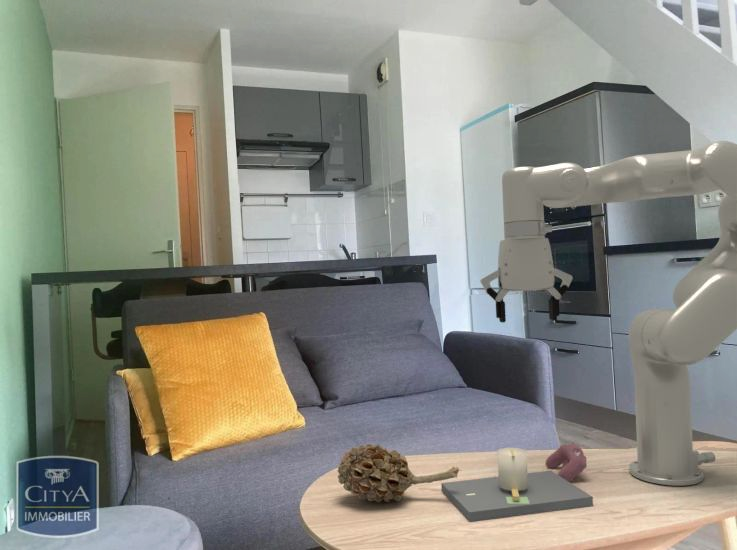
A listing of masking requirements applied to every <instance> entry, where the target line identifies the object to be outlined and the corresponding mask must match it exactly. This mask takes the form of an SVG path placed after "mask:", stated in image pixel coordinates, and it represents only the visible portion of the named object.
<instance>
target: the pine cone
mask: <svg viewBox="0 0 737 550" xmlns="http://www.w3.org/2000/svg"><path fill="white" fill-rule="evenodd" d="M340 461H341V462H339V464H338V467H337V469H338V470H337V472H338V475H337V478H338V483H339V484H341V485H343V486H342V487H343V489H344V490H345V491H347V492H350V494H352V495H357V498H359V499H360V500H364V499H367V500H368V501H369V502H371V501H374V500H375V502H377V503H380V502H381V501H382V500H384V501H385V502H387V503H388V502H390V501H391V500H393V501H396V502H400V501H401V499H402V496H403V495H404V494H405V492H406V490H408V489H409V488H410V487H412V486H413V485H415V486H416V485H418V484H425V483H426V484H429V483H433V482H439V481H440V482H441V481H445V480H449V479H454V478H456V479H457V478H458V474H459V471H461V472H462V469H459V467H454V466H453V467H451V469H448V470H447V471H443V472H438V473H434V474H428V475H418V476H417V475H415V474H413V472H411V470H410V468H409V463H408V461H407V457H406V456H405V455H401V453H399V452H398V451H397V450H396V449H393V450H391V451H389V449H388V448H387V447H384V448H383V447H382V446H381V445H380V444H379V443H377V444H375V445H372V444H367V445H366V446H364V445H358V446H357V447H356V446H352V447H351V448H350V449H349V451H345V452H344V455H343V456H341V458H340Z"/></svg>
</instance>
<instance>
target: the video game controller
mask: <svg viewBox="0 0 737 550" xmlns="http://www.w3.org/2000/svg"><path fill="white" fill-rule="evenodd" d="M587 465H588V464H587V457H586V456H585V454H584V451H583V449H582V448H581V447H580V446H578V445H576V444H575V443H567V442H564V443H563V444H561V445H559V447H558V448H557V449H556V450H555V451H554V452H553V453H551V454H550V455H549V456H548V457H547V458H546V459H545V467H547V468H548V469H554V468H557V467H559V466H561V469H560V470H559V471H558V473H557V475H559V476H560V477H562V478H564V479H565V480H567V481H568V482H570V481H572V480H574V479H575V478H577V476H579V474H580V473H582V472H583V471H584V470H585V469H586V468H587Z"/></svg>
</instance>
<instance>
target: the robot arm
mask: <svg viewBox="0 0 737 550" xmlns="http://www.w3.org/2000/svg"><path fill="white" fill-rule="evenodd" d="M501 185H502V186H501V187H502V191H501V192H502V207H503V209H502V210H503V211H502V212H503V214H502V215H503V236H504V239H502V240H500V241H499V248H498V255H497V257H498V258H497V259H498V260H497V270H495V271H493V272H492V273H490V274H488V275H486V276H484V277H482V278H481V279H480V284H481V285H482V287H483V289H484V290H485V292H486V294H487V295H488V296H489V297H491V298H492V299H493V301H494V302H495V317H496V319H499V322H500V323H505V322H506V319H507V318H506V317H507V316H506V303H505V301H504V298H505V297H506V295H507V294H508V292H525V291H529V292H530V291H545V292H546V293H547V294H548V295H549V299H548V315H549V316H548V318H549V320H551V321H553V322H555V321H556V322H557V321H558V317H559V316H560V300H561V298H562V296H563V295H565V293H566V292H567V291H568V289H569V287H570V285H571V283H572V281H573V279H574V278H573V276H572V275H571V274H569V273H568V272H567V273H566V272H565V271H562V270H561V269H558V268H556V267H554V260H553V255H552V249H551V248H552V247H551V244H550V239H549V238H548V237H546V236H547V235H546V234H547V233H552V232H553V225H552V224H547V223H546V221H545V214H544V213H545V212H544V206H545V207H548V208H550V209H551V208H552V209H559V208H561V209H562V208H573V207H583V206H594V205H599V204H600V205H601V204H611V203H613V204H614V203H628V202H634V201H642V200H643V201H645V200H653V199H661V198H674V197H676V198H677V197H684V196H685V197H686V196H695V195H696V196H697V195H704V194H708V193H712V192H716V191H719V190H721V192H722V193H724V194H725V196H724V197H723V198H722V200H721V201H720V204H719V206H718V212H717V216H718V220H719V221H718V222H719V227H720V235H719V239H718V242H717V243H716V245H715V246H714V247H713V248H711V250H710V251H709V253H707V254H706V256H704V258H702V259H701V260H700V261H699V262H698V263H697V264H696V265H695V266H694V267H693V268H692V269H691V270H690V271H689V272H687V273H686V275H685V276H683V277H682V278H681V279H680V280H679V282H678V283H677V284H676V286H675V287H674V290H673V293H672V294H673V295H672V299H673V303H674V306H675V307H676V309H674V310H673V309H665V308H651V309H646V310H644V311H642V312H640V313H638V314H637V315H636V316H635V317H634V318H633V319H632V321H631V323H630V325H629V328H628V345H629V351H630V356H631V360H632V362H631V363H632V367H633V368H632V369H633V378H634V401H635V402H634V403H635V404H634V406H635V407H634V408H635V429H636V431H635V432H636V452H637V456H636V457H637V460H634V461H632V462H631V463H629V465H628V466H629V467H628V470H629V473H630V474H631V475H632V476H634V477H635V478H637V479H639V480H641V481H645V482H648V483H650V484H651V483H652V484H658V485H663V486H664V485H665V486H673V487H675V486H676V487H677V486H678V487H679V486H683V487H685V486H693V485H696V484H699V483H701V482H702V481H703V480H704V472H703V470H702V469H701V468H699V467H700V466H701V465H702V464H703V463H704V464H708V463H715V462H716V458H717V457H716V455H715V453H714V452H712V451H707V452H701V453H699V450H694V448H693V446H694V445H693V426H692V425H693V420H692V401H691V400H692V399H691V398H692V397H691V379H690V374H689V373H690V372H689V370H688V366H692V365H696V364H697V363H700V362H701V361H703V360H705V359H706V358H707V357H709V356H710V355H711V354H712V353H713V352H714V351H715V350H716V349H717V348H719V347H720V346H721V344H723V343H724V342H725V341H726V340H727V339H728V338H729V337H730V336H731V335H732V334H733V333H734V332H736V331H737V143H734V142H731V141H727V140H719V141H714V142H711V143H709V144H707V145H704V146H702V147H700V148H696V149H692V150H691V149H689V150H680V151H677V150H676V151H671V152H658V153H646V154H637V155H633V156H628V157H625V158H621V159H618V160H616V161H613V162H610V163H606V164H603V165H599V166H593V167H590V168H589V167H588V168H584V167H582V166H581V165H580V164H577V163H575V162H560V163H555V164H549V165H544V166H529V165H528V166H516V167H512V168H508V169H506V170H505V171H504V172H503V173H502V178H501ZM555 277H557V278H559V279H561V280H562V282H561V283H560V285H559V287H557V289H556V287H554V286H555V281H556V279H555ZM496 279H497V284H498V285H497V286H498V288H499V289H498V291H495V289H493V288H492V286H491V282H492V281H494V280H496Z"/></svg>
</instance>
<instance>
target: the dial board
mask: <svg viewBox="0 0 737 550" xmlns="http://www.w3.org/2000/svg"><path fill="white" fill-rule="evenodd" d="M440 485H441V493H442V494H444V496H446V498H447V499H448V500H449V501H450V502H451V504H452V505H454V506H455V508H456V509H457V510H458V512H459V513H461V514H462V515H463V516H464V517H465V519H466V520H467V521H468V522H478V521H484V520H493V519H501V518H508V517H509V518H510V517H516V516H524V515H530V514H539V513H547V512H548V513H549V512H555V511H563V510H569V509H570V510H571V509H579V508H586V507H593V506H594V497H593V495H591V494H589V493H588V492H586V491H584V490H582V489H581V488H580V487H577V485H575V484H573V483H572V482H570V481H569V482H568V481H567V480H565V479H564V478H562V477H560V476H559V475H558V473H555V472H554V471H552V470H545V471H544V470H543V471H535V472H528V488H527V489H525V490H521V491H518V493H519V501H513V497H512V492H511V491H510V490H505V489H502V488H501V487H500V486H499V476H492V477H483V478H482V477H481V478H474V479H463V480H457V481H447V482H441V483H440Z"/></svg>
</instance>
